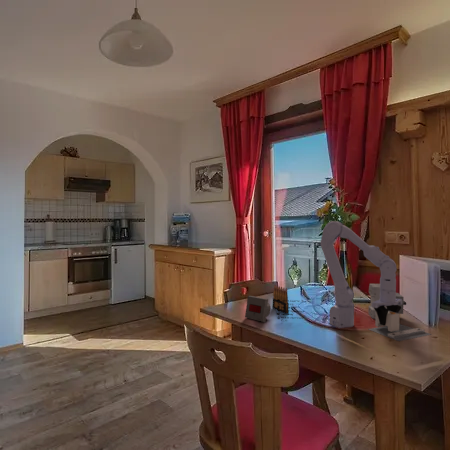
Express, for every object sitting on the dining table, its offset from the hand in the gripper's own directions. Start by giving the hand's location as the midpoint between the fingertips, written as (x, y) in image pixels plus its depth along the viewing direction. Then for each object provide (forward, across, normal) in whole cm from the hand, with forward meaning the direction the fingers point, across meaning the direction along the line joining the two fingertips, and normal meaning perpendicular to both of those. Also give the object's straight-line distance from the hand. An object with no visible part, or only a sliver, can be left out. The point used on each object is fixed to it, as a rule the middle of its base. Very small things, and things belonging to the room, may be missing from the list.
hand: (387, 323), depth 131 cm
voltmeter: (+4, -33, +31) cm, 45 cm away
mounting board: (+3, +3, -3) cm, 5 cm away
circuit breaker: (+4, +15, +12) cm, 20 cm away
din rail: (+2, +3, -6) cm, 7 cm away
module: (+2, 0, 0) cm, 2 cm away
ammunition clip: (+4, -22, +42) cm, 48 cm away
